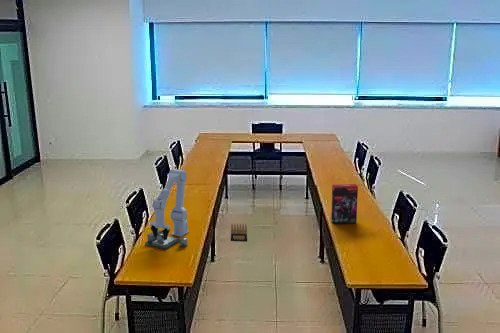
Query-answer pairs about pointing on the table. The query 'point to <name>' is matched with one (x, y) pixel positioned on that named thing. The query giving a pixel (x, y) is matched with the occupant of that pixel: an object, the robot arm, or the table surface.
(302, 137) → the table surface
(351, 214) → the graphics card box
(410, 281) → the table surface
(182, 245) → the cylinder
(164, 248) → the dial scale
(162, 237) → the cylinder
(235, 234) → the ammunition clip
